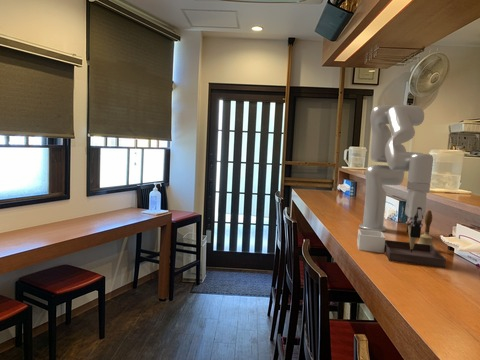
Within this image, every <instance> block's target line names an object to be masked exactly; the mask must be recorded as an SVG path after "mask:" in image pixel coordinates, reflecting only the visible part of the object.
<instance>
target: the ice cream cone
mask: <svg viewBox="0 0 480 360" xmlns="http://www.w3.org/2000/svg"><path fill="white" fill-rule="evenodd" d="M414 218H417V217H414ZM412 219H413V217H412V218H408V217H407V221H405V224H406V226H407V225H408V232H409V233H408V239H409V243H410V249H411V252H412V250H413V247H414V244H415V243H416V241H417V239H418V238H414V237H411V236H410V233H411V226H412ZM415 221H416V220H415ZM423 225H424V224H423V223H422V222H421V228H422V227H423Z"/></svg>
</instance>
